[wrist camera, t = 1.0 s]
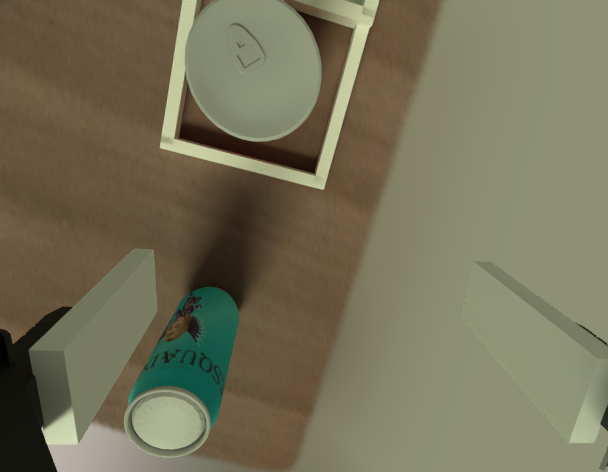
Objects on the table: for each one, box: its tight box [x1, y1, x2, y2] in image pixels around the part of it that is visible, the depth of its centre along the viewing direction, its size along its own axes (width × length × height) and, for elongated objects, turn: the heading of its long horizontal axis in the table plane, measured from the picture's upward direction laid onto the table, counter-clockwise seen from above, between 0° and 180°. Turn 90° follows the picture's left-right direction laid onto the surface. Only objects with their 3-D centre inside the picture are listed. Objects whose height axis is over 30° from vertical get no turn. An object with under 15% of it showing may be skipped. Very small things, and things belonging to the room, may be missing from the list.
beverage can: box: [124, 287, 239, 457], centre depth 30 cm, size 6×6×15 cm
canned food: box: [185, 0, 322, 142], centre depth 26 cm, size 8×8×11 cm
